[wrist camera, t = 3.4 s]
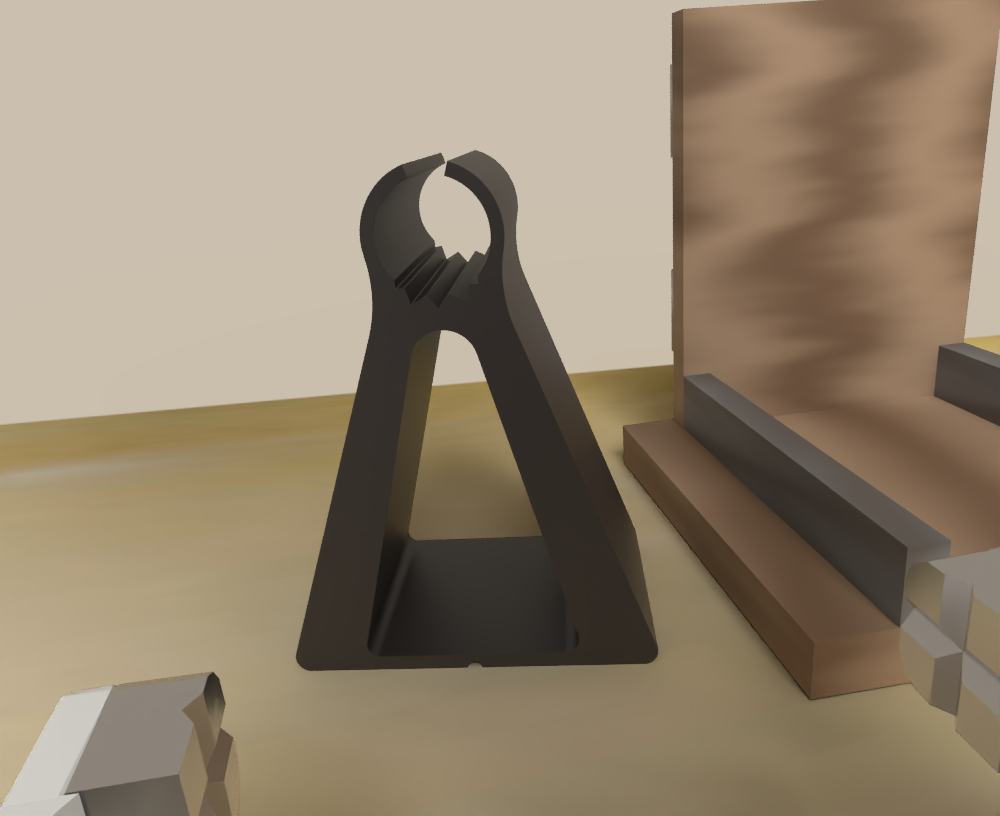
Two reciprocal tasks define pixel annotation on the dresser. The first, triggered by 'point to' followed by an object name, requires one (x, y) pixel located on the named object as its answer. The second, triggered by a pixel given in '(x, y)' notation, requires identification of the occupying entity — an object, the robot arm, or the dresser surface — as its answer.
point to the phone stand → (535, 445)
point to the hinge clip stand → (827, 318)
